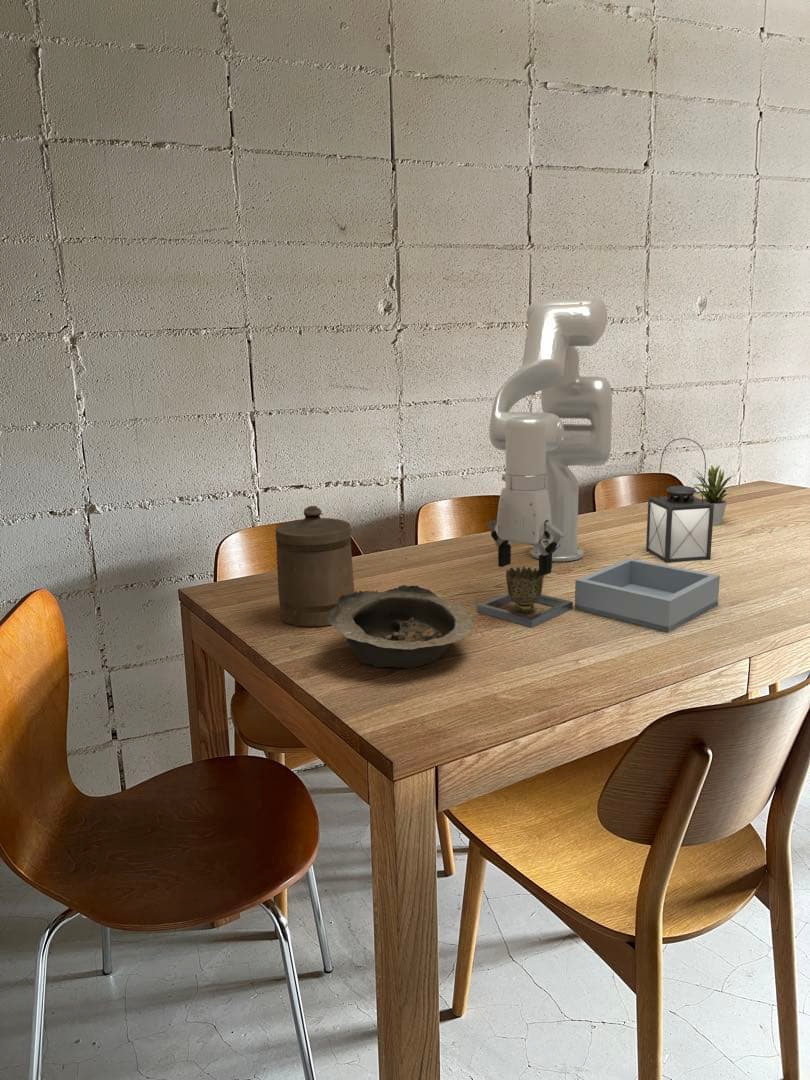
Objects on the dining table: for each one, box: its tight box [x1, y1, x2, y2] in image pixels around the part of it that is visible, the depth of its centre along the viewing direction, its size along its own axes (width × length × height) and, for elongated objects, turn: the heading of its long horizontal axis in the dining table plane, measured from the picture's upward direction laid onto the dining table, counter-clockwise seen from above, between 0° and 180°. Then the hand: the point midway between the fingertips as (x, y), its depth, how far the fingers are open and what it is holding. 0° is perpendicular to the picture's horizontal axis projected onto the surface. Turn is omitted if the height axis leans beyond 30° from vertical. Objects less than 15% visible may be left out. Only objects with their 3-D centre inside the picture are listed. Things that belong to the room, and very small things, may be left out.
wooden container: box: [275, 505, 355, 628], centre depth 165 cm, size 15×15×22 cm
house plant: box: [689, 464, 737, 527], centre depth 230 cm, size 14×14×16 cm
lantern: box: [645, 437, 714, 564], centre depth 198 cm, size 11×11×28 cm
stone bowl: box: [327, 585, 475, 670], centre depth 146 cm, size 25×25×9 cm
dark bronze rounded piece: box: [505, 566, 545, 614], centre depth 166 cm, size 8×7×8 cm
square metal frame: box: [476, 592, 574, 628], centre depth 166 cm, size 13×13×2 cm
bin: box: [574, 557, 721, 633], centre depth 166 cm, size 20×20×6 cm
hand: (524, 569), depth 164 cm, fingers open, 9 cm apart
